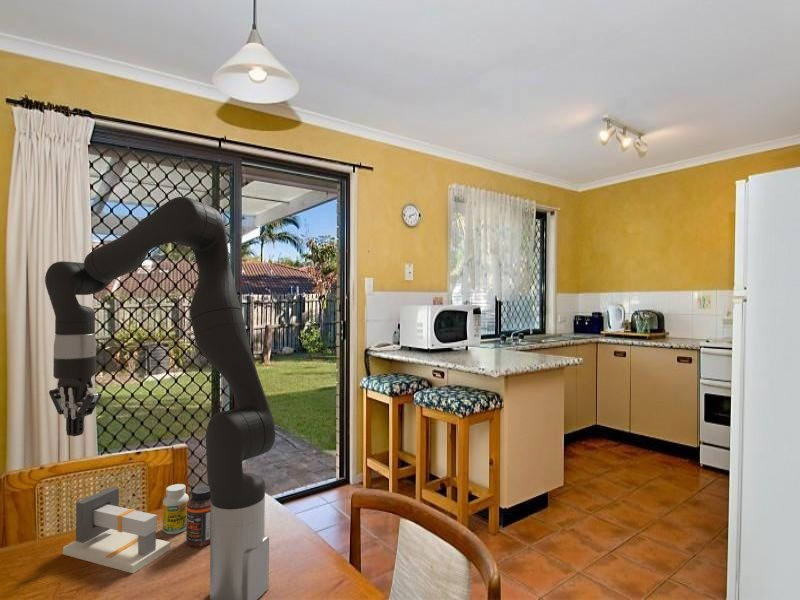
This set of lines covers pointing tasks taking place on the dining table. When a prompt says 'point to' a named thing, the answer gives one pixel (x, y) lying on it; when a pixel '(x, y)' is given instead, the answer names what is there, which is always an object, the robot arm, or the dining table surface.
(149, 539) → the white bar stand
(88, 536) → the collar
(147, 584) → the dining table surface
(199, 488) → the supplement bottle
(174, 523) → the supplement bottle
